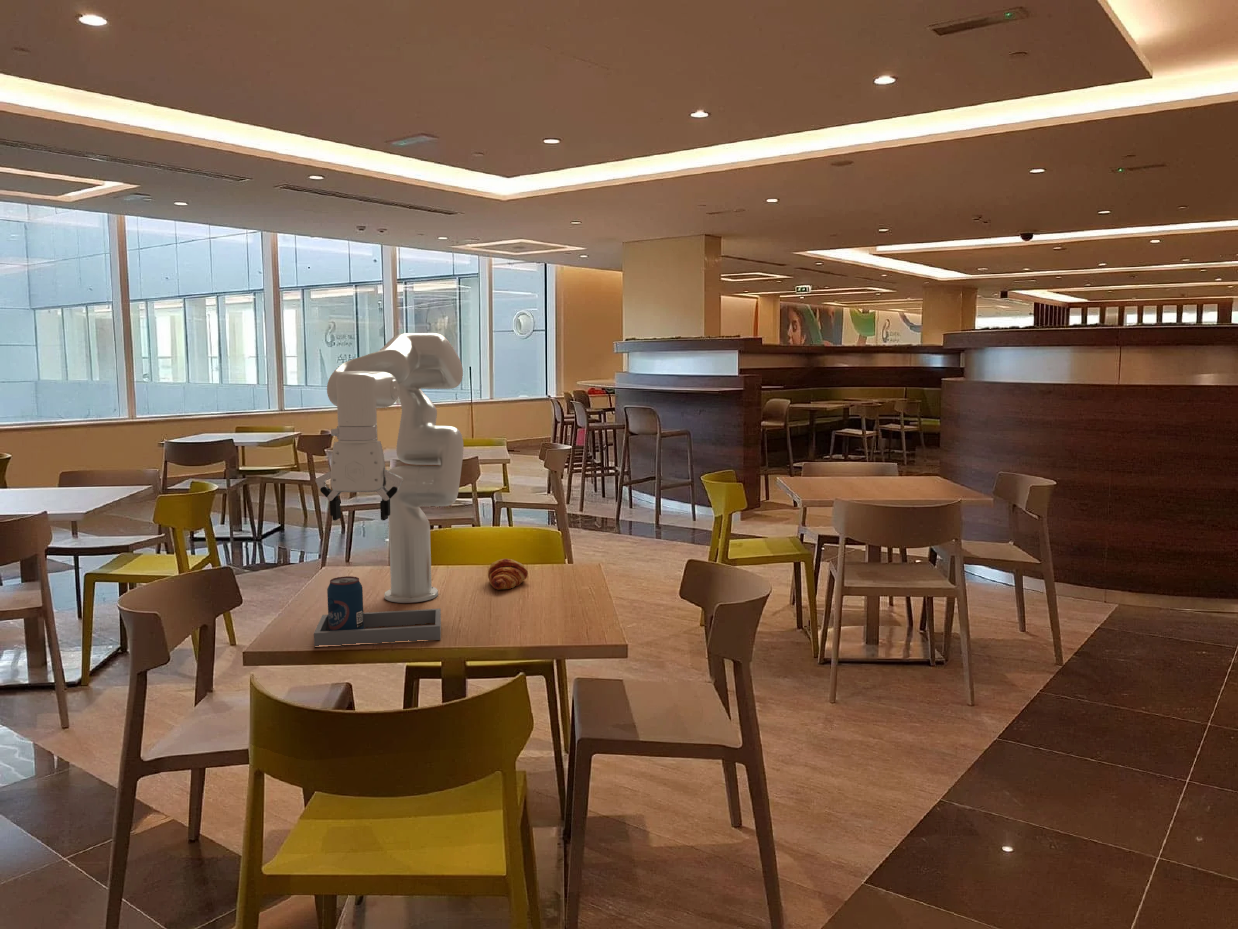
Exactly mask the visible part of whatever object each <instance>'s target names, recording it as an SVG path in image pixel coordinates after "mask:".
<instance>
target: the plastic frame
mask: <svg viewBox="0 0 1238 929" xmlns="http://www.w3.org/2000/svg"><path fill="white" fill-rule="evenodd" d="M441 611H442V610H441V608H426V609H425V608H424V609H410V610H390V611H389V610H387V611H372V612H371V611H370V612H363V615H364V629H356V630H339V631H329V623H328V614H322V615H321V616H320V617H321V618H320V620H319V622H318V624H317V625H316V628H315V630H314V631H313V643H314V644H313V647H314V646H319V645H342V644H356V643H382V642H395V641H408V640H409V641H417V640H441V635H442V634H441V633H442V632H441V630H442V624H441V623H442V616H441V615H442V613H441ZM425 623H435V624H425ZM415 624H421V625H415ZM402 625H403V626H402ZM379 626H385V627H381V628H380V627H379ZM366 627H368V628H366ZM441 641H442V640H441Z"/></svg>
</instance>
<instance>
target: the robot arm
mask: <svg viewBox="0 0 1238 929" xmlns="http://www.w3.org/2000/svg"><path fill="white" fill-rule="evenodd" d="M463 370H464V369H463V364H462V362H461V359H460V357H459V355H458V354H457V352H456V350H455V349H454V347H453V346H452V344H451V343H450V341H449V340H448V338H447V337H445V336H444V335H442V334H441V333H438V332H437V333H436V332H404V333H399V334H396V335H394V336H393V337H392V338H391V339H390V340H388V342H386V344H385V345H384V346H383V347H382V348H380V349H379V350H378V351H375V352H372V353H368V354H365V355H362V356H358V357H356V358H352V359H350V360H348V361H345V362H343V363H342V364H340V365H339V366H337V367H336V369H335V370H333V372H332V373H331V375H330V376H329V378H328V381H327V386H326V394H327V398H328V400H329V401H330V402H331V404H333V405H334V406H335V407H337V408H336V410H337V411H336V412H337V415H336V416H337V426H336V428H332V429H331V430H330V435H331V436H334V437H336V439H337V440H338V441H334V442H333V447H332V452H331V454H332V455H331V462H330V463H331V467H330V471H328V472H326V473H324V474H322V475H320V476H318V477H316V478H315V480H314V482H315V483H316V485H317V487H318V488H319V490H320V491H319V492H321V493H322V494H323V495H324V496H325V497H326V499H327V500H328V501H329V513H330V514H329V515H330V516H331V518H332V521H334V522H335V521H337V520H339V519H341V518H342V515H341V514H342V511H341V510H342V509H341V499H340V498H339V496H340V495H341V493H375V492H376V493H377V494H378V496H380V498H381V500H380V504H379V506H380V507H379V508H380V520H381V521H387V520H388V533H389V534H388V536H389V537H388V539H389V540H388V541H389V564H390V566H389V567H390V571H389V573H390V588H389V589H388V590H386V591H385V592H384V595H383V596H384V599H385V600H387V602H388V601H389V602H392V603H399V604H410V603H412V604H413V603H420V602H421V603H422V602H427V601H430V600H433V599H436V598H437V597H438V595H439V590H438V588H437V587H434V586H432V557H431V556H432V554H431V524H430V521H429V519H428V517H427V515H426V514H425V512H424V511H423V510H422V508H421V507H449V506H452V505H454V504H455V503H456V501H457V498H458V496H459V489H460V483H461V475H462V467H463V460H464V439H463V434H462V432H461V431H460V430H459V428H457V427H455V426H452V425H436V424H437V417H438V411H437V407H436V406H435V404H434V403H433V401H432V400H431V398H429V396H428V395H427V394H425V393H424V392H423V390H427V389H428V390H445V389H446V390H451V389H455V388H457V387H459V386H460V384H461V383H462V380H463V375H464V373H463V372H464V371H463ZM422 389H423V390H422ZM397 400H399V402H400V405H401V406H400V407H401V414H400V421H399V427H398V428H399V429H398V432H397V433H398V434H397V440H396V448H395V449H396V456H397V459H398V460H399V461H400V462H402V463H404V464H409V465H399V466H398V465H397V466H395V467H392V468H389V470H388V469H386V462H385V455H384V450H383V446H382V442H381V441H380V440H378V421H377V419H378V416H377V409H381V408H384V409H385V408H389V407H392V406H393V405H395V404H396V402H397ZM329 479H330V486H331V488H330V487H329V486H327V482H326V481H327V480H329Z"/></svg>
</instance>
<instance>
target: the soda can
mask: <svg viewBox="0 0 1238 929" xmlns="http://www.w3.org/2000/svg"><path fill="white" fill-rule="evenodd" d="M326 593H327V615H328V623H329V630H328V631H339V630H356V629H365V628H364V615H363V613H364V595H363V594H364V592H363V585H362V584H361V582H360V578H359V577H357V576H350V575H349V576H345V575H344V576H338V577H334V578H331V579H330V580H329V585H328V586H327V589H326Z"/></svg>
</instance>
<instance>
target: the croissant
mask: <svg viewBox="0 0 1238 929" xmlns="http://www.w3.org/2000/svg"><path fill="white" fill-rule="evenodd" d="M528 574H529V571H528V569H527V568H526V567H525V565H524V564H522V563H521V562H519V561H517V560H514V559H511V558H501V559H497V560H496V561H494V562H492V563H491V564H490V566H489V568H488V570H487V578H488V581H489V584H490V585H491V586H492V588H494V589H495V590H499V591H500V590H510V589H511V588H512V589H514V588H516V587H519V586H520V585H521V584H522V583H523V582H524V581H526V579H527V578H528ZM515 586H516V587H515Z"/></svg>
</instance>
